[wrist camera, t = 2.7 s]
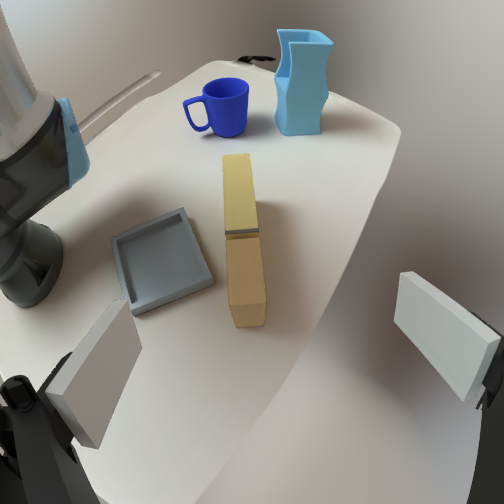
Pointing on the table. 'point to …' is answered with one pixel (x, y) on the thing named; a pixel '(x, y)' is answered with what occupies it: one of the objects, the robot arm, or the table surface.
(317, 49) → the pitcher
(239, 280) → the stub
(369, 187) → the table surface
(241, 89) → the mug
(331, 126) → the table surface
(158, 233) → the tray
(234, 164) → the grey-ended yellow block
